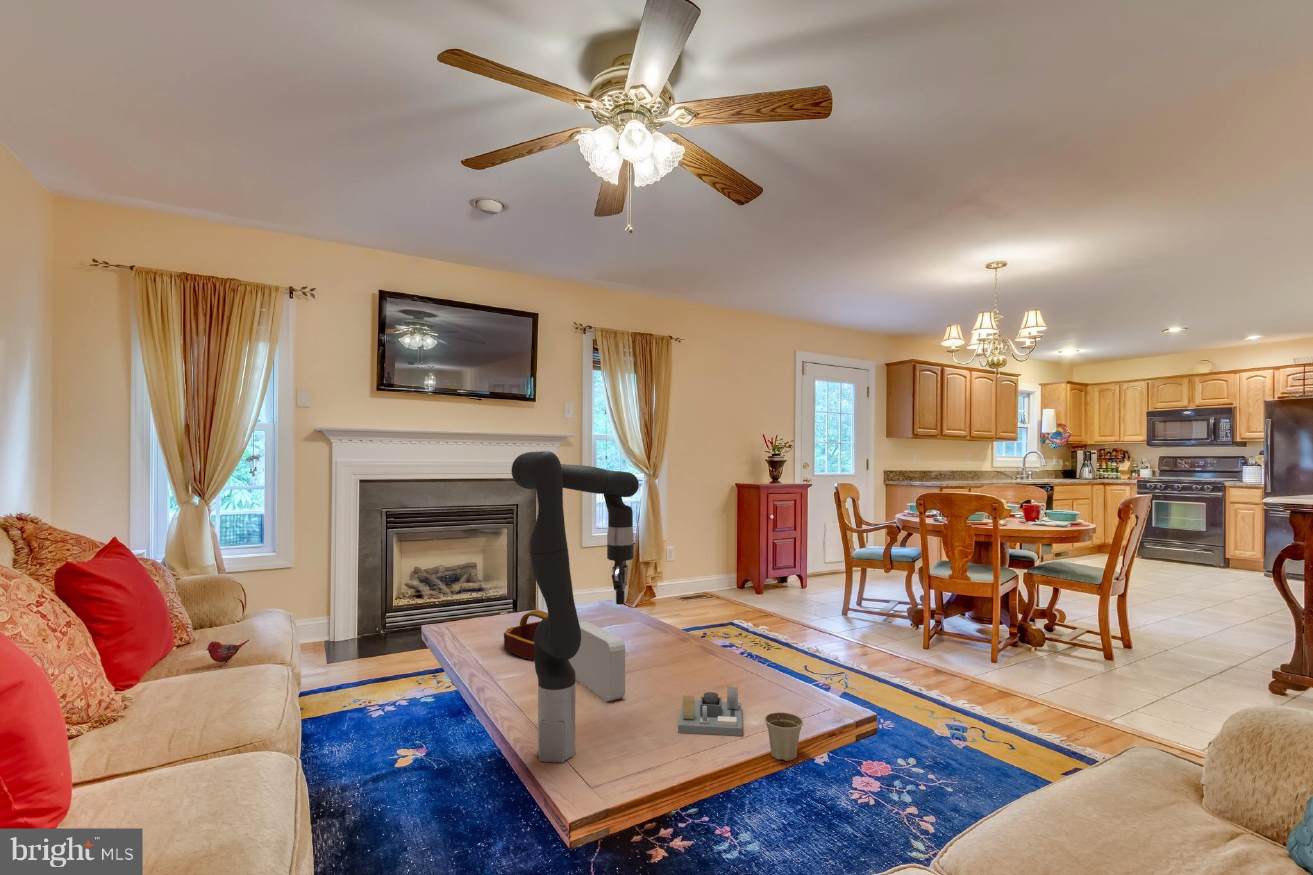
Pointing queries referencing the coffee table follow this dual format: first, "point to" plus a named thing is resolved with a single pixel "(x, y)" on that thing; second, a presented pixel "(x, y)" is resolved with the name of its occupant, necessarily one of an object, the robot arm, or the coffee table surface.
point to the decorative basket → (523, 636)
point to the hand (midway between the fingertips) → (620, 603)
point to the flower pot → (783, 734)
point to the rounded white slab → (600, 662)
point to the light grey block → (732, 697)
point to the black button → (711, 698)
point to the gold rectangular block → (688, 707)
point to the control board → (712, 719)
